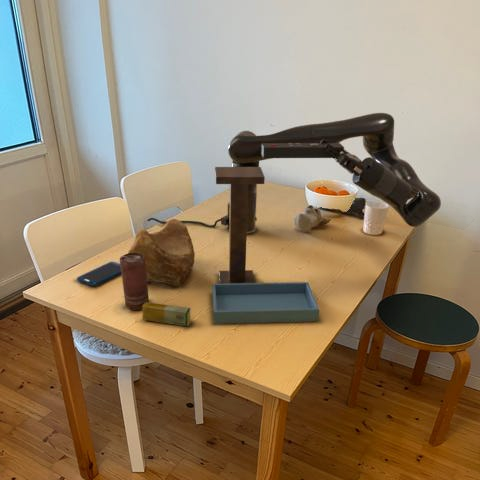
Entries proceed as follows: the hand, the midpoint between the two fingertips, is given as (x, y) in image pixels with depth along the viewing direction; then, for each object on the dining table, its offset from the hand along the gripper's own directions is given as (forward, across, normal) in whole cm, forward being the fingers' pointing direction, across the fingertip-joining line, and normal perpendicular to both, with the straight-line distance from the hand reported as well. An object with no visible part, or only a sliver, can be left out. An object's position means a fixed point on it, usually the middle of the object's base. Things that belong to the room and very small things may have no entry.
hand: (323, 145), depth 120 cm
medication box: (+16, +20, +54) cm, 59 cm away
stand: (-1, 0, +44) cm, 44 cm away
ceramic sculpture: (-27, -41, +29) cm, 57 cm away
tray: (-6, +14, +41) cm, 44 cm away
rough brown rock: (+16, -4, +54) cm, 56 cm away
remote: (+3, 0, +5) cm, 6 cm away
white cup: (-46, -37, +18) cm, 62 cm away
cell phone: (+33, -6, +63) cm, 72 cm away
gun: (-40, -56, +22) cm, 72 cm away
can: (+23, +11, +58) cm, 63 cm away
